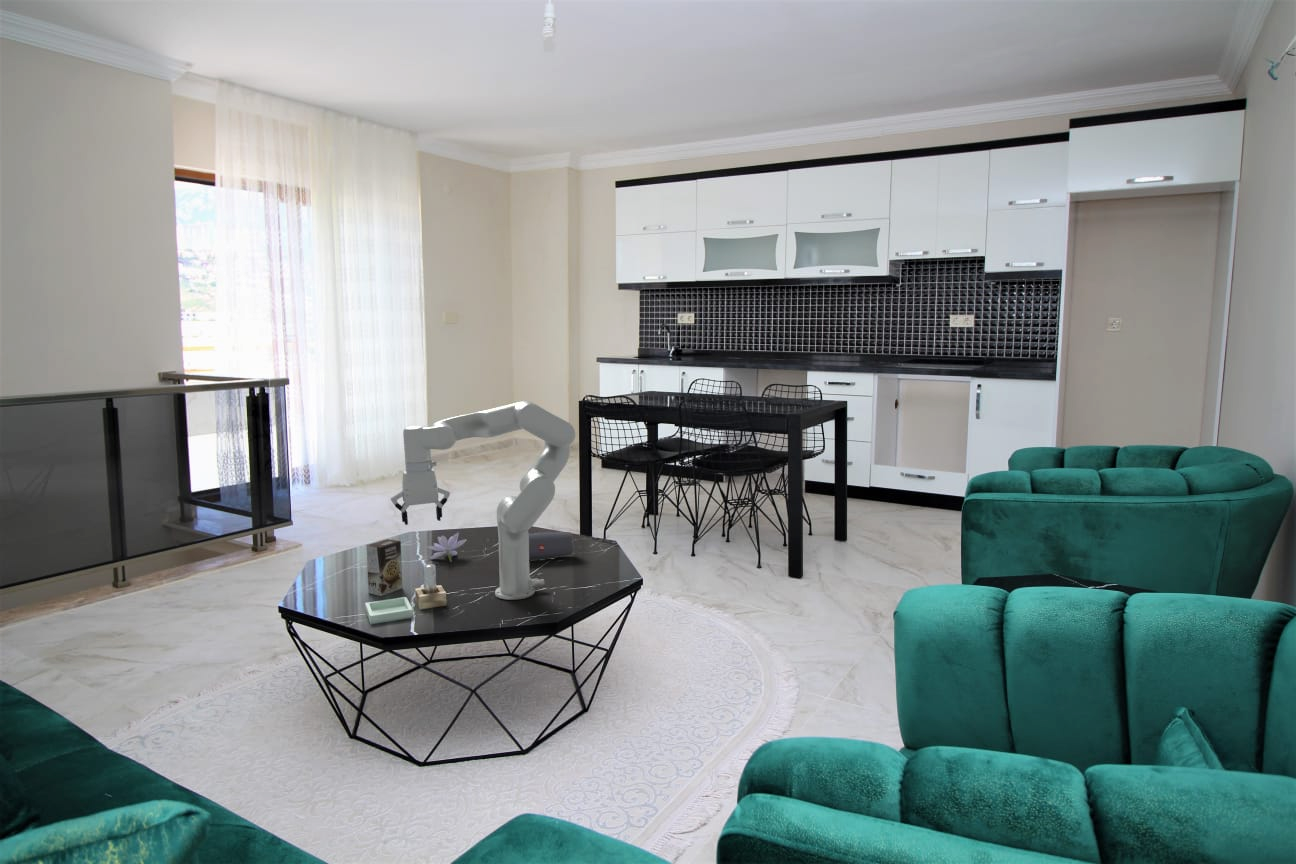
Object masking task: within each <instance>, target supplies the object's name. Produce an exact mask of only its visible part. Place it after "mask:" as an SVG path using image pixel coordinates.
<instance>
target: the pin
mask: <svg viewBox="0 0 1296 864" xmlns="http://www.w3.org/2000/svg"><path fill="white" fill-rule="evenodd" d="M422 567H423V569H422V570H423V588H424V594H430V593H436V586H437V571H436V564H434V563H427V564H424V565H423V566H422Z"/></svg>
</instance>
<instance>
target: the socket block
mask: <svg viewBox="0 0 1296 864" xmlns="http://www.w3.org/2000/svg"><path fill="white" fill-rule="evenodd" d="M414 597H415V599H414V600H415V603H416V604H417V606H418V609H419V610H425V609H431V608H437V607H443V606H444V607H445V606H447V592H446V591H445V589H444V588H443V586H442V584H440V585H439V584H438V585H436V593H430V594H424V587H417V588H414Z"/></svg>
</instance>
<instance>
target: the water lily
mask: <svg viewBox="0 0 1296 864" xmlns="http://www.w3.org/2000/svg"><path fill="white" fill-rule="evenodd" d="M459 534H460V533H459V532H456V533H455V534H453V536H452V535H451V536H450V537H449V538H447V537H446V536H445V535H441V536H437V541H438V543H437V542H435V543H433V545H429V546H427V548H428V549H430V550H433V551H437V552H435V553H433V555H432V556H430V557H429V561H430V560H431V561H432V560H435V559H437V558H440V557H442V556H443V555H445V554H447V557H448V560H449V562H450V563H452V562H453V561H452V558H451V556H457V555H458V552H457V551H456V549H458V548H459V547H461V546H463V545H464V544H465V542H466V541H467V539H465V538H464V539H461V540H459V541H458V538H459Z"/></svg>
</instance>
